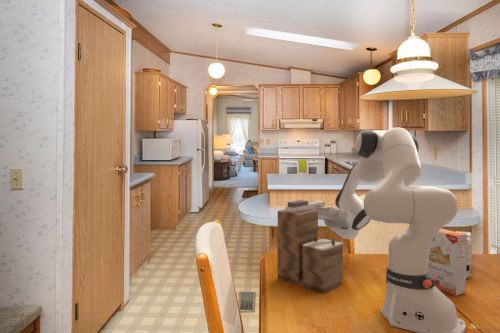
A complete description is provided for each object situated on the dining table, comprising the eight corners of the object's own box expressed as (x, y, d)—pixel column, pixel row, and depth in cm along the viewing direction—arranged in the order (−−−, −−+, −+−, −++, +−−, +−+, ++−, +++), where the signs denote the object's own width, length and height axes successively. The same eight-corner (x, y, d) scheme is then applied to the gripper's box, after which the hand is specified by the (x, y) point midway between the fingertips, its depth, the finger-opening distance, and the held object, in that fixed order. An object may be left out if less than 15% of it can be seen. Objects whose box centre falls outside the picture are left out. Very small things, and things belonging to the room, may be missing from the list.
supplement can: (449, 278, 143) (450, 239, 142) (444, 271, 151) (445, 234, 150) (473, 280, 141) (474, 241, 140) (467, 273, 149) (468, 235, 148)
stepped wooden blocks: (342, 284, 137) (343, 214, 136) (323, 293, 129) (324, 219, 127) (297, 270, 152) (297, 207, 150) (277, 278, 144) (277, 211, 142)
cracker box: (419, 283, 138) (420, 227, 137) (430, 280, 141) (431, 225, 140) (455, 297, 126) (457, 235, 124) (466, 293, 128) (468, 233, 127)
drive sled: (324, 206, 152) (324, 198, 152) (293, 213, 138) (293, 203, 138) (316, 205, 155) (316, 197, 154) (285, 211, 141) (285, 202, 140)
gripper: (317, 209, 169) (300, 197, 160) (358, 215, 155) (342, 202, 146) (312, 222, 167) (296, 210, 159) (353, 230, 153) (338, 217, 144)
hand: (318, 206), depth 152 cm, fingers open, 8 cm apart
